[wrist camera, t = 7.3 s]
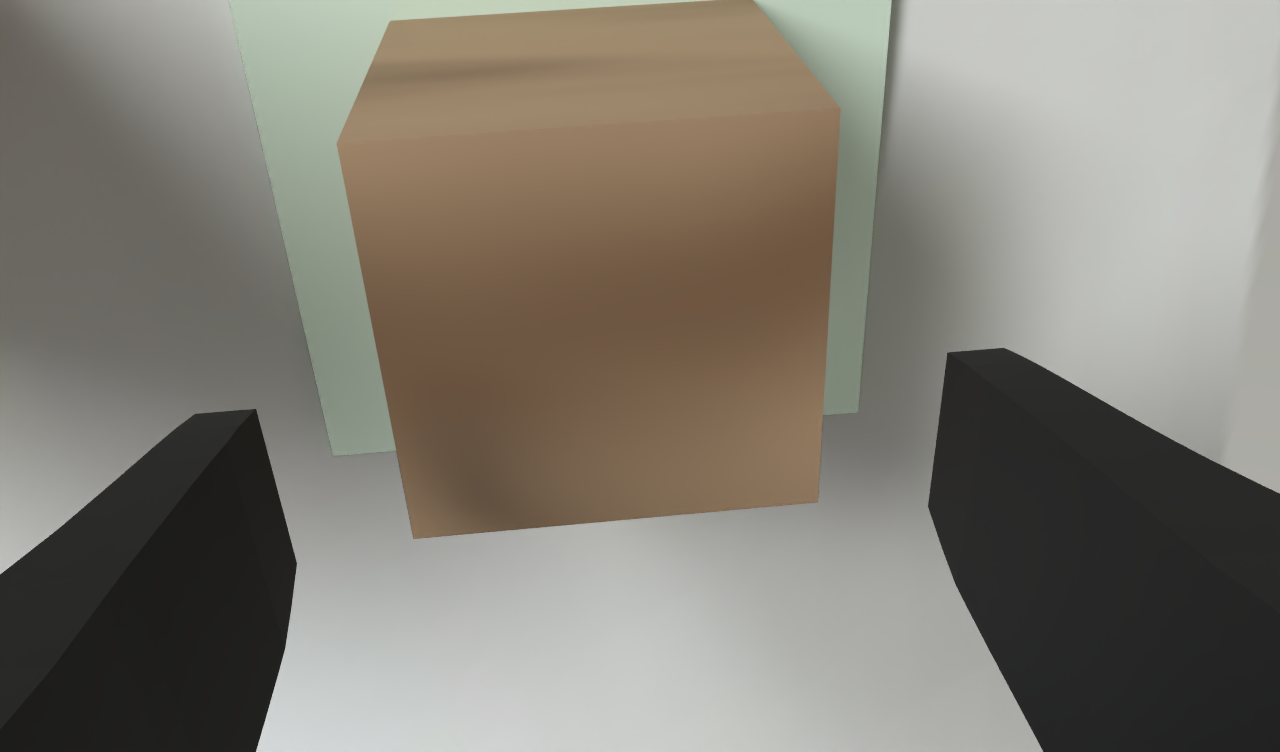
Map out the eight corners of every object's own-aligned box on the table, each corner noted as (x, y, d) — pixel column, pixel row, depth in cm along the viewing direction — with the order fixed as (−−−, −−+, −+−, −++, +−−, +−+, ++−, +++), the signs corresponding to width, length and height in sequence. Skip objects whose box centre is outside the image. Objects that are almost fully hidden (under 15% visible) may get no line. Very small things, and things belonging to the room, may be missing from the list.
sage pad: (854, 404, 21) (858, 412, 21) (335, 447, 21) (332, 456, 20) (899, -168, 16) (905, -165, 16) (204, -132, 15) (199, -129, 15)
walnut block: (747, 313, 19) (817, 501, 15) (440, 338, 19) (413, 538, 14) (751, -3, 17) (840, 108, 12) (389, 20, 16) (336, 143, 12)
